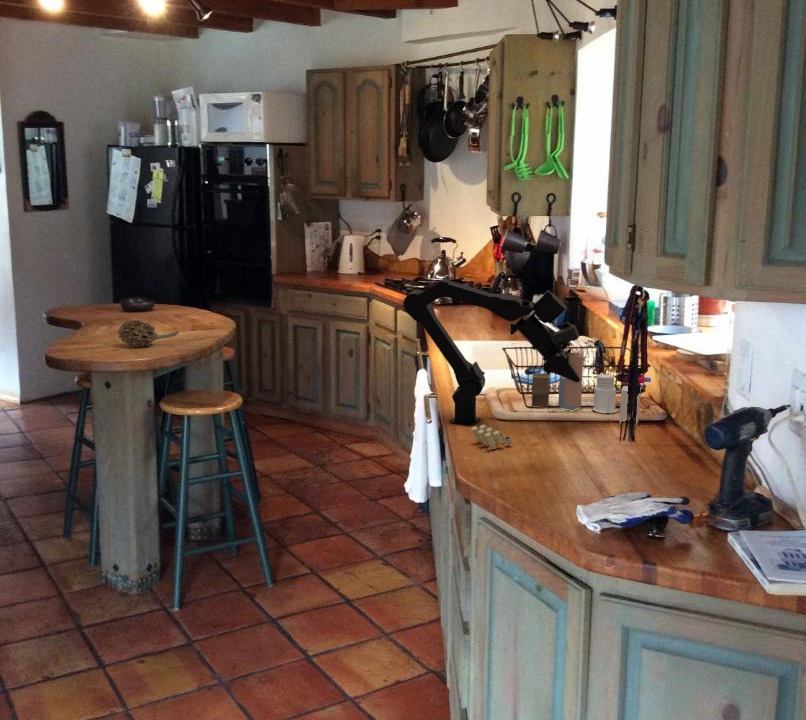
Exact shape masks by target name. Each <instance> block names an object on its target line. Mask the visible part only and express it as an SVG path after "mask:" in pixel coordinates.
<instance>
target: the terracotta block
mask: <svg viewBox="0 0 806 720" xmlns="http://www.w3.org/2000/svg"><path fill="white" fill-rule="evenodd" d="M568 355H569V364H570V365H571V367H572V368H573V369H574V371H575V372H576V374H577V375H578V377H579V378H580V381H579V382H578V383H577V382H574V381H572V380H570V379H567V378H566V385H565V405H573V406H580V405H581V406H582V398H581V396H582V397H583V395H582V394H583V374H584V373H583V372H584V371H583V369H584V353H583V352H582V353H581V352H571V353H567V356H568Z"/></svg>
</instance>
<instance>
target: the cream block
mask: <svg viewBox="0 0 806 720" xmlns="http://www.w3.org/2000/svg"><path fill="white" fill-rule="evenodd" d="M628 386H629V385H623V386H622V388H621V390H620V406H619V424H622V423H621V422H622V421H623V422H625V421H626V420H627V402H628V393H627V392H628ZM641 389H642V388H641V387H640V393H639V394H638V396H637V415H636V424H635V425H638V423H639V420H640V407H641V392H642V391H641Z"/></svg>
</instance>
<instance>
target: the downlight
mask: <svg viewBox="0 0 806 720" xmlns="http://www.w3.org/2000/svg"><path fill="white" fill-rule="evenodd" d="M593 391H594V395H593V407H594V409H595V410H596V412H595V413H598V412H599V414H606V413H609V414H612V413H613V414H614V413H617V412H618V408H616V404H617V403H616V400H617V399H616V397H617V396H616V395H617V387H615V375H613V374H608V373H607V374H606V373H605V374H604V373H602V374H597V375H596V385H595V386H594V390H593ZM615 408H616V409H615Z"/></svg>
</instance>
